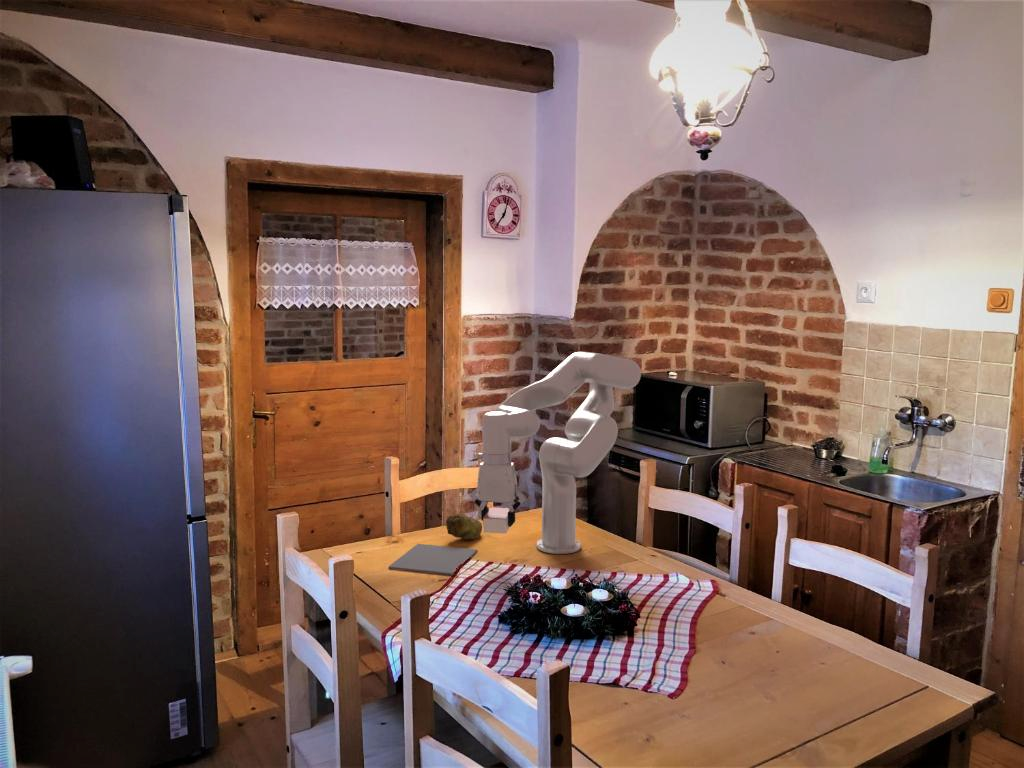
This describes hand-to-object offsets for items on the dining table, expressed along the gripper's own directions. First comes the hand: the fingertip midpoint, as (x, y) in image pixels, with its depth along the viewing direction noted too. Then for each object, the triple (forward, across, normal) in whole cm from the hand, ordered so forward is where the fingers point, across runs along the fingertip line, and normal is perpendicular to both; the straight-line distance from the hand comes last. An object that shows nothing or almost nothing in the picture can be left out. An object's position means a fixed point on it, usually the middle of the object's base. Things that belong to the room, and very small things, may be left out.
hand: (498, 523), depth 220 cm
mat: (+11, -18, -3) cm, 21 cm away
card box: (+1, 0, 0) cm, 1 cm away
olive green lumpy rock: (+11, -16, +17) cm, 26 cm away
